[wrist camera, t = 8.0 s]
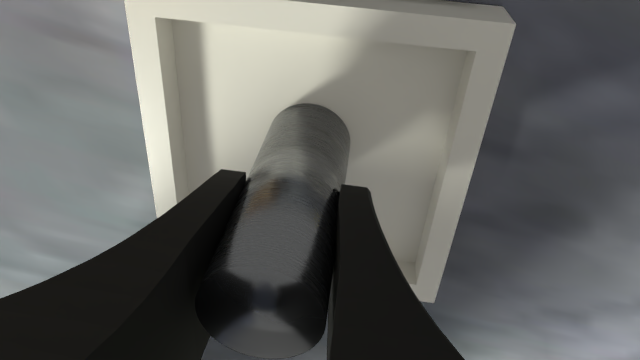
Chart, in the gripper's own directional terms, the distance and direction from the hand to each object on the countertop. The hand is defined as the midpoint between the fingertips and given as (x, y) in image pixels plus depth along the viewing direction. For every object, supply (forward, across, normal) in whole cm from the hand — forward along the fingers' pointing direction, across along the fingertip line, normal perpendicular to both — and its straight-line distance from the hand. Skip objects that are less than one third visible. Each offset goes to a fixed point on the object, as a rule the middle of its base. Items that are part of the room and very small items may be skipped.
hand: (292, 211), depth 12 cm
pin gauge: (+3, 0, 0) cm, 3 cm away
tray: (+3, 0, 0) cm, 3 cm away
